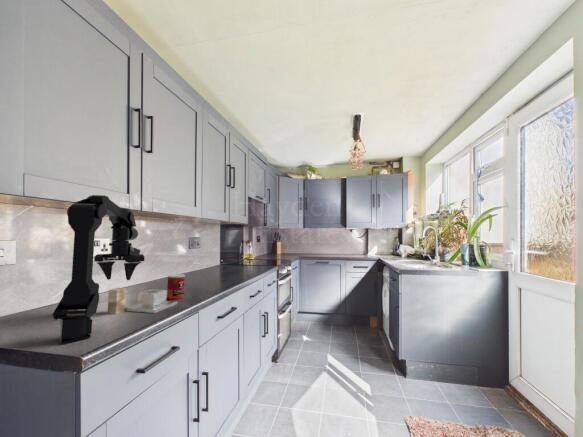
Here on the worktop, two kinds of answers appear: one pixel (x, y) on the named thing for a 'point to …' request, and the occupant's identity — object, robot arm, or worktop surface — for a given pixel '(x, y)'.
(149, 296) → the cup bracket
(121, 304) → the rail end
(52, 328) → the worktop surface
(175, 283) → the canned food
